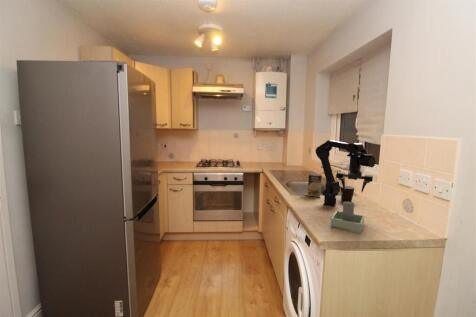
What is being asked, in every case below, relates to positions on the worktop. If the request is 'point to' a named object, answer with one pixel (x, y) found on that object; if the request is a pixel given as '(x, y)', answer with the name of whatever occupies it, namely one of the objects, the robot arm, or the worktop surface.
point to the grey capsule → (348, 211)
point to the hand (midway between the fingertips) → (352, 191)
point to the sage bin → (347, 222)
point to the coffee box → (314, 185)
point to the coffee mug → (347, 193)
